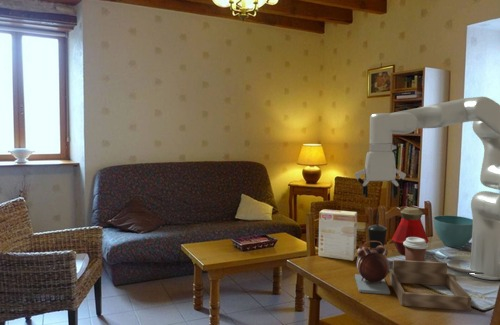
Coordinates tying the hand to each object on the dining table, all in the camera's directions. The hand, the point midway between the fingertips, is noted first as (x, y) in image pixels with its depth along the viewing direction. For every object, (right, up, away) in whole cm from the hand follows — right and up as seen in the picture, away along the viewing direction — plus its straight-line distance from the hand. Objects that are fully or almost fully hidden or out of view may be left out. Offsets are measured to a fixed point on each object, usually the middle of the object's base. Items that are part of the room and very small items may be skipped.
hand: (379, 196), depth 140 cm
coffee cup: (+18, -30, +15) cm, 38 cm away
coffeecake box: (-9, -28, +30) cm, 42 cm away
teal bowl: (+50, -27, +47) cm, 74 cm away
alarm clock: (-3, -30, -1) cm, 30 cm away
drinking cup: (+7, -29, +26) cm, 39 cm away
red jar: (+25, -28, +35) cm, 51 cm away
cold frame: (+13, -32, -8) cm, 35 cm away
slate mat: (-3, -31, -1) cm, 31 cm away
